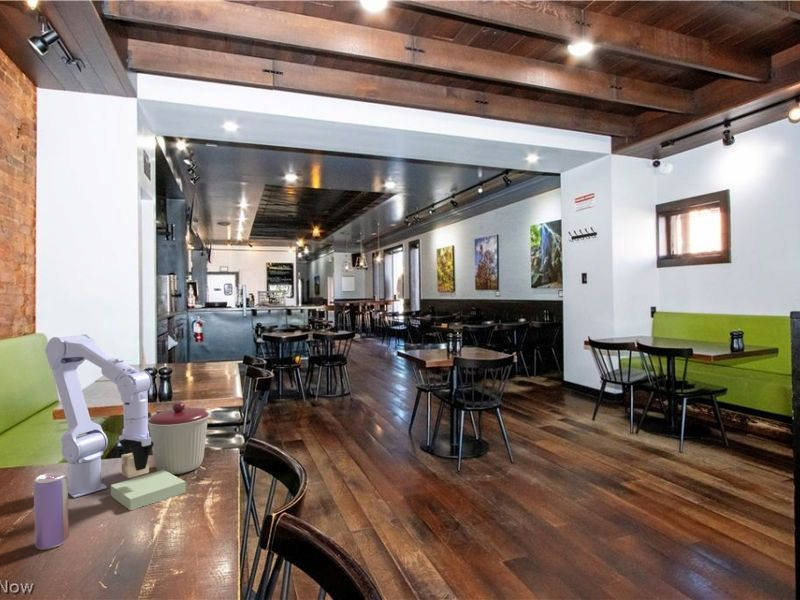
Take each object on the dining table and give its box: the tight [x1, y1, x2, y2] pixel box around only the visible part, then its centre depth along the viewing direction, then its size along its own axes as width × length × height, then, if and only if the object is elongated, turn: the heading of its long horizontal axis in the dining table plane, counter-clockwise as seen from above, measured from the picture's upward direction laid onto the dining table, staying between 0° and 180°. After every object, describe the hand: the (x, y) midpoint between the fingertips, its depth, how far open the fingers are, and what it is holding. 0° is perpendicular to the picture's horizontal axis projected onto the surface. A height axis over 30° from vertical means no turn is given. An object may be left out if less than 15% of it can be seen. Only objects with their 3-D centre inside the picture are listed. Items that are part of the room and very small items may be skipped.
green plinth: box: [110, 470, 187, 511], centre depth 126 cm, size 14×14×3 cm
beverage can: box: [33, 471, 70, 551], centre depth 101 cm, size 6×6×15 cm
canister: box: [148, 401, 211, 476], centre depth 144 cm, size 18×18×21 cm
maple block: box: [120, 453, 150, 479], centre depth 123 cm, size 5×5×5 cm
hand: (136, 466), depth 124 cm, fingers closed on maple block, 5 cm apart
